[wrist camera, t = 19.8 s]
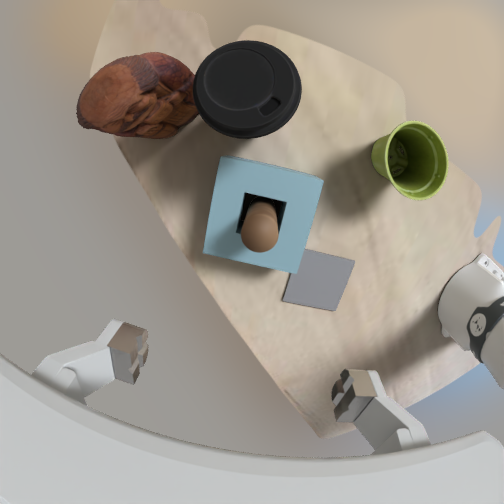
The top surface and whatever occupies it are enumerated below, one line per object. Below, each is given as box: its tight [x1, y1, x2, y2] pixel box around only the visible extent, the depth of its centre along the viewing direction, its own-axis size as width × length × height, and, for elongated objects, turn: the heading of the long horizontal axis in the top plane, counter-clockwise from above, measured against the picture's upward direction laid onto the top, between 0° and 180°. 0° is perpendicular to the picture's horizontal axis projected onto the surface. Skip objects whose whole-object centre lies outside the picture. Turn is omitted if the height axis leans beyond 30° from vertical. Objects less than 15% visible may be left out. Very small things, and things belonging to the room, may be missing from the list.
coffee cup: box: [193, 40, 302, 139], centre depth 25 cm, size 9×9×15 cm
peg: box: [241, 196, 279, 253], centre depth 32 cm, size 4×4×12 cm
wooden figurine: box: [76, 52, 199, 139], centre depth 24 cm, size 12×6×18 cm, turn 124°
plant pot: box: [371, 121, 448, 200], centre depth 29 cm, size 9×9×9 cm
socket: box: [203, 155, 324, 274], centre depth 34 cm, size 12×12×6 cm
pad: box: [283, 249, 355, 311], centre depth 41 cm, size 9×9×1 cm
